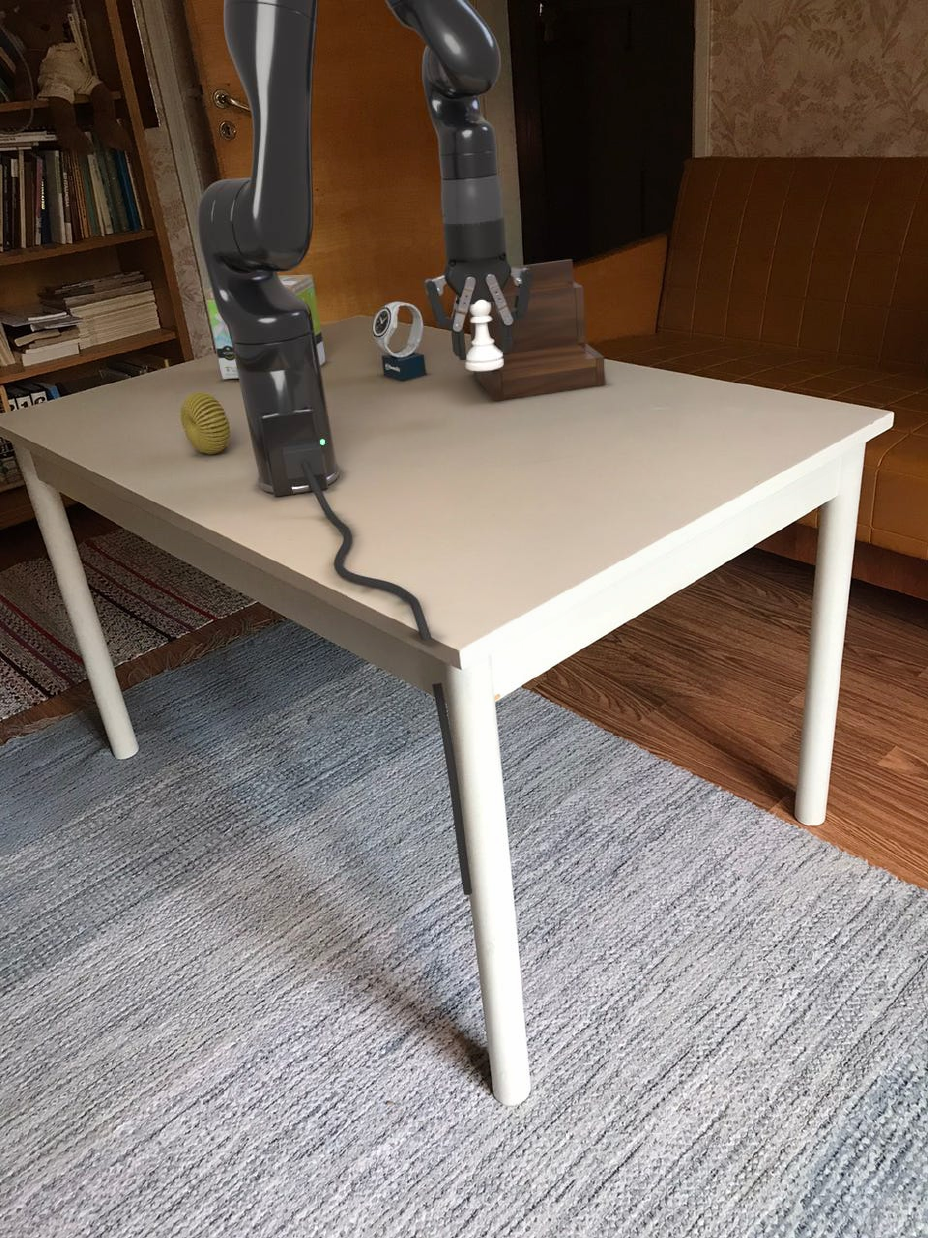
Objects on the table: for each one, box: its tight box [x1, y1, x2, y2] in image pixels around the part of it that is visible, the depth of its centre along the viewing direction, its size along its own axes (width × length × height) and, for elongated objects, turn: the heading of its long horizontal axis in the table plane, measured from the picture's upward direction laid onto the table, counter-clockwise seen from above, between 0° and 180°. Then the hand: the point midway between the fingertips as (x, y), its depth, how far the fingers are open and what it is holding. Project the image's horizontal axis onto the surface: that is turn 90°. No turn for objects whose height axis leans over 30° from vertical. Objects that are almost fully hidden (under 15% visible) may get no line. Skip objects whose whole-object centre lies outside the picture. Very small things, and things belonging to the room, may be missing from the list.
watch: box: [371, 301, 427, 382], centre depth 155 cm, size 6×8×11 cm
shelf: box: [467, 258, 606, 402], centre depth 144 cm, size 15×16×15 cm
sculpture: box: [180, 392, 231, 455], centre depth 130 cm, size 8×4×8 cm, turn 44°
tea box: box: [204, 273, 326, 380], centre depth 164 cm, size 15×10×15 cm, turn 76°
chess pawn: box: [464, 300, 504, 372], centre depth 129 cm, size 5×5×9 cm
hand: (484, 355), depth 131 cm, fingers closed on chess pawn, 5 cm apart
